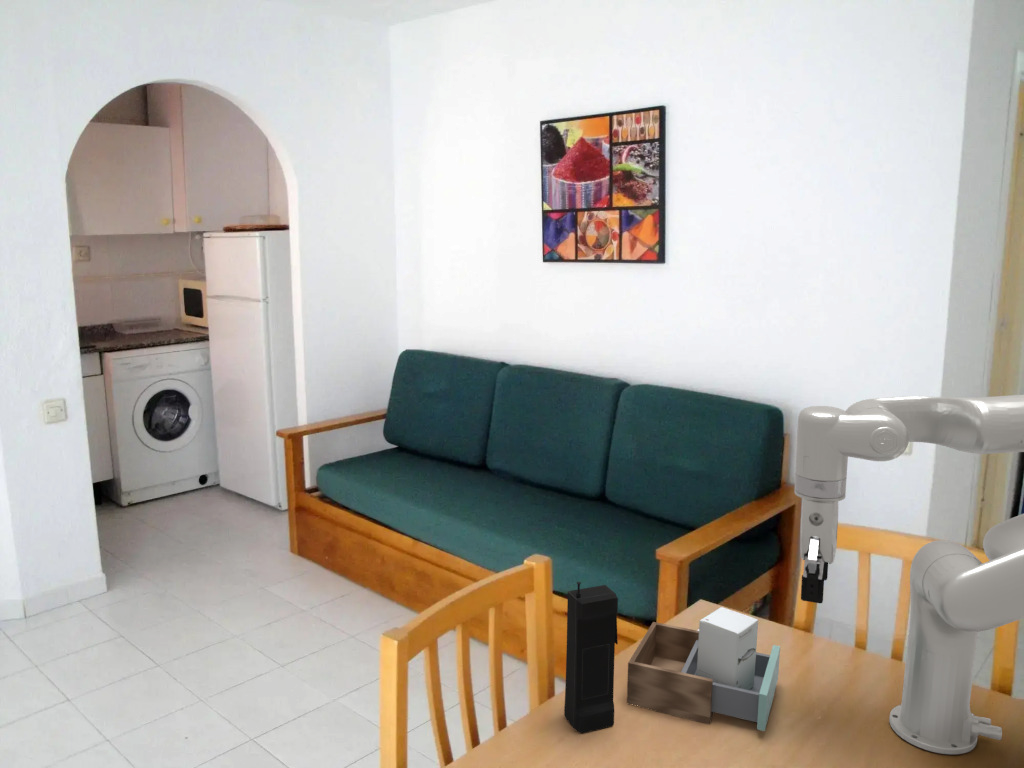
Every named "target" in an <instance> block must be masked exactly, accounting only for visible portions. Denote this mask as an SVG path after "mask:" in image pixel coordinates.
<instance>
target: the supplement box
mask: <svg viewBox="0 0 1024 768" xmlns="http://www.w3.org/2000/svg"><path fill="white" fill-rule="evenodd" d="M698 626H699V627H698V629H699V641H698V659H697V676H701V677H705V678H709V679H713V682H714V683H719V684H723V685H728V686H732V687H737V688H741V689H745V690H750V689H751V688H752V687H754V676H755V662H756V652H757V645H758V643H757V642H758V631H759V629H758V628H759V619H757V618H755V617H753V616H750V615H746V614H743V613H741V612H738V611H734V610H732V609H728V608H726V607H723V606H720V607H719V608H717V609H716V610H714V611H712V612H711V613H709V614H708V615H706V616H705V617H703V618H701V619H699V624H698Z"/></svg>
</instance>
